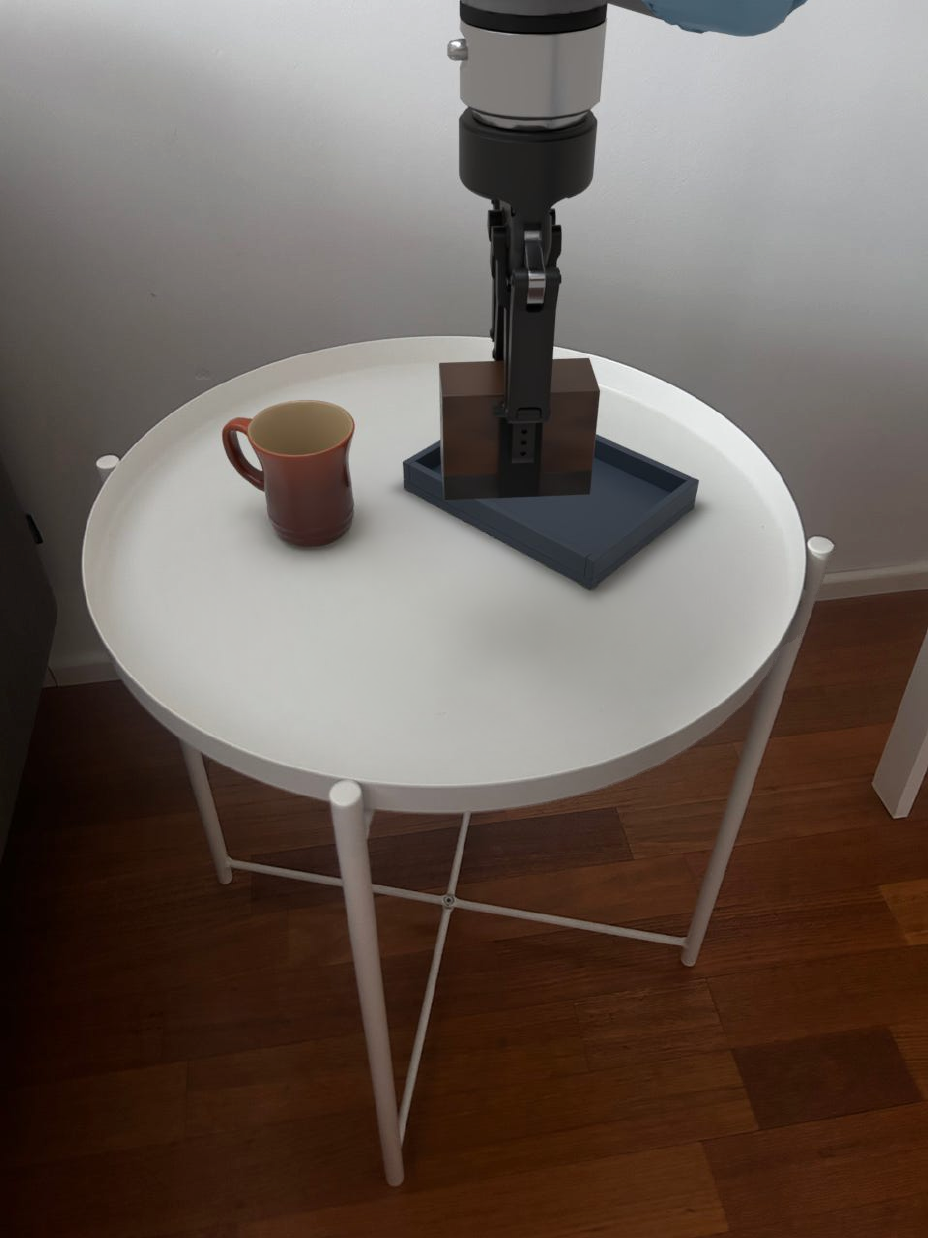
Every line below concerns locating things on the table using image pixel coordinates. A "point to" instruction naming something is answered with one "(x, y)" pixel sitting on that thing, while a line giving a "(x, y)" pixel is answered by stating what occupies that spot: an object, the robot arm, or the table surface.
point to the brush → (476, 433)
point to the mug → (299, 468)
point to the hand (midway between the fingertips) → (514, 472)
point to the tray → (573, 511)
